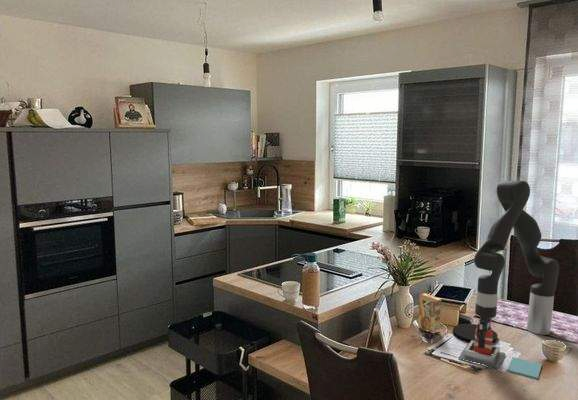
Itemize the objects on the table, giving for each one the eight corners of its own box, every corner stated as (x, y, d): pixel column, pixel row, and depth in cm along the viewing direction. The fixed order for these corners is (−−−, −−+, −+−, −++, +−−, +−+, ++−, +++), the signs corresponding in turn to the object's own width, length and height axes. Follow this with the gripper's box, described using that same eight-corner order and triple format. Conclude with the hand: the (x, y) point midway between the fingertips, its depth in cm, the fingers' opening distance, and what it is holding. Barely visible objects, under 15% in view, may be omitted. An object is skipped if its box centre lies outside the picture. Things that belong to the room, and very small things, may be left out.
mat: (512, 358, 183) (512, 356, 182) (541, 365, 177) (541, 364, 177) (507, 371, 173) (507, 369, 173) (537, 379, 167) (537, 377, 167)
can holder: (467, 345, 193) (468, 337, 192) (504, 355, 185) (505, 346, 185) (458, 359, 181) (459, 350, 181) (497, 369, 174) (498, 360, 173)
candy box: (439, 332, 205) (442, 298, 203) (433, 334, 203) (435, 300, 201) (423, 325, 212) (425, 292, 210) (417, 327, 210) (419, 294, 208)
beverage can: (490, 354, 185) (492, 325, 183) (491, 361, 179) (493, 331, 178) (473, 352, 187) (475, 323, 185) (474, 359, 181) (476, 329, 179)
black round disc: (453, 342, 197) (453, 337, 196) (451, 325, 214) (452, 321, 213) (499, 348, 192) (500, 343, 191) (494, 331, 209) (494, 326, 208)
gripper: (480, 295, 188) (477, 335, 190) (471, 306, 176) (468, 348, 179) (500, 299, 184) (497, 340, 186) (492, 310, 172) (489, 354, 174)
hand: (483, 344), depth 182 cm, fingers closed on beverage can, 6 cm apart
